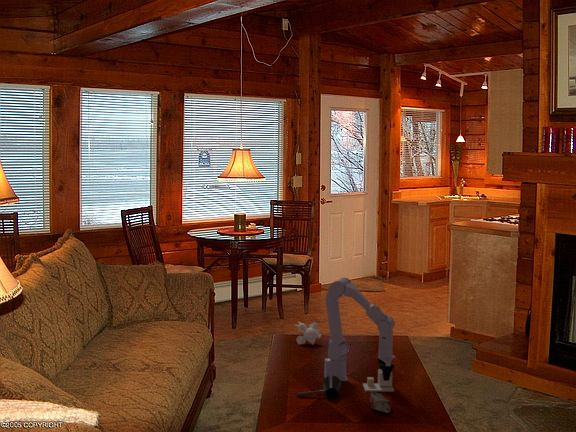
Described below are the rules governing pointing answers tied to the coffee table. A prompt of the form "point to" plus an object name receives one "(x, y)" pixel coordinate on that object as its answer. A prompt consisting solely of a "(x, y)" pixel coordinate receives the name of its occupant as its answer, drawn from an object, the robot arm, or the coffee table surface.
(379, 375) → the beige block
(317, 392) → the coffee pot
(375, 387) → the grey board
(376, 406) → the mineral rock
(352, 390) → the coffee table surface
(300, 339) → the character figurine
